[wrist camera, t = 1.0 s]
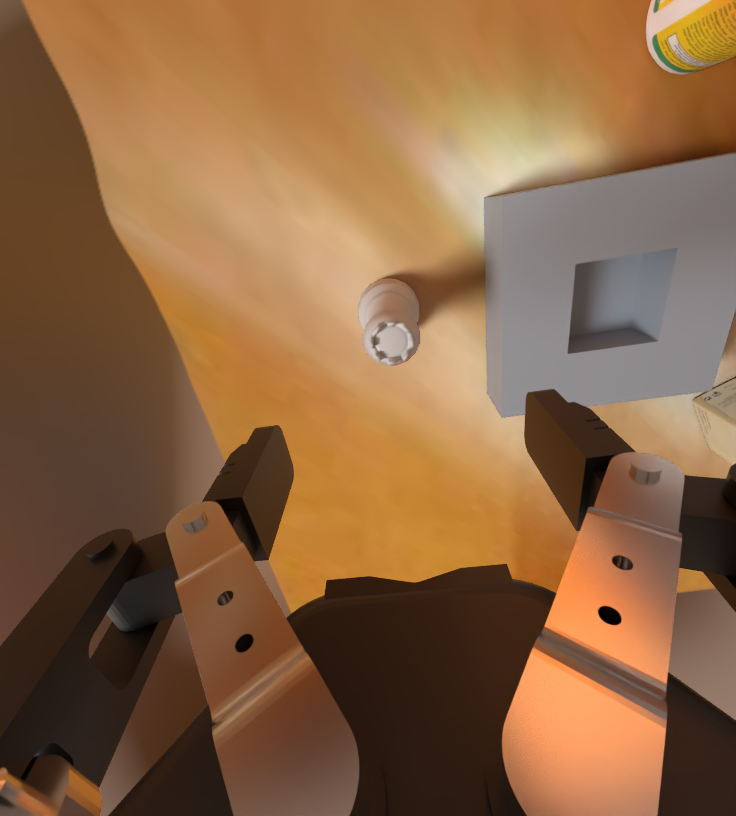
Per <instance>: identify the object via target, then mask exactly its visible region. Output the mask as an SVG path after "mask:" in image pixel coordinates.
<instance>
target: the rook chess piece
mask: <svg viewBox="0 0 736 816" xmlns="http://www.w3.org/2000/svg"><path fill="white" fill-rule="evenodd" d="M358 318H359V322H360V324H361V327H362V329H363V331H364V332H363V346H364V348H365V350H366V352H367V354H368V355H369V356H370V357H371V358H372V359H373V360H374V361H376V362H378V363H381V364H383V365H388V366H393V365H399V364H401V363H403V362H406V361H408V360H409V359H410V358H411V357H412V356H413V355H414V354H415V353H416V350H417V348H418V346H419V344H420V331H419V328H418V326H417V322H418V320H419V302H418V299H417V297H416V294H415V292H414V291H413V290H412V289H411V288H410V287H409V286H408V285H407V284H406V283H405V282H402V281H399V280H397V279H394V278H391V279H380V280H378V281H376V282H374V283H372V284H370V285H369V286H368V287H367V288H366V289H365V291H364V292H363V293H362V294H361V297H360V300H359V303H358Z"/></svg>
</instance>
